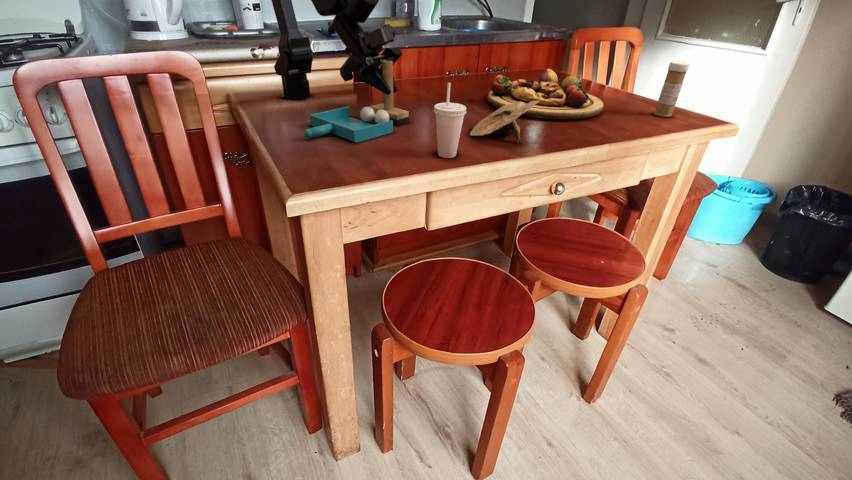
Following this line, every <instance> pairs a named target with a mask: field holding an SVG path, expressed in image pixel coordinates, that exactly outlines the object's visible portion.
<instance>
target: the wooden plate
mask: <svg viewBox="0 0 852 480" xmlns="http://www.w3.org/2000/svg"><path fill="white" fill-rule="evenodd" d="M486 97H487V101H488V103H489V104H490V105H491V106H493V107H494V108H497V110H498V109H499V108H501V107H502V106H504V105H507V104H510V103H516V102H519V101H522V102H524V103H525V104H527V103H529V102H531V101H539V102H538V103H536V104H535V105H534V107H533V108H531V109H530V110H528V111H526V112H525V113H523V114H522V115H521V116H523V117H531V118H537V119H546V120H580V119H587V118H591V117H594V116H598V115H600V113H602V112H603V110H604V107H605V104H604V102H603V101H602V100H601V98H599V97H596V96H594V95H593V94H590V93H588V92H587V91H586V89H585V88H583V83H582V81H581V79H580V78H579V77H578V76H577V75H576V74H574V73H573V74H570V75H569V76H567V77H565V78H564V79H562V81H561V83H560V85H559V78H558V75H557V73H556V72H555V71H554V70H552V69H551V68H547V69H545V70H544V71H543V72H542V74H540V75H539V78H538V81H536V80H528V81H527V80H525V79H515V80H513V81H511V80H510V78H508V77H507V76H505V75H502V74H498V75H496V76H495V77H494V78H493V81H492V83H491V90H490V91H489V92H488V94H487V96H486Z"/></svg>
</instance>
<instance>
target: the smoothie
mask: <svg viewBox="0 0 852 480" xmlns="http://www.w3.org/2000/svg"><path fill="white" fill-rule="evenodd" d="M451 85H452V84H451V82H447V85H446V86H447V88H446V89H447V90H446V102H440V103H439V102H438V103H436V104H434V106H433V112H434V113H435V128H436V144H437V155H438V156H439V157H440V158H443V159H453V158H455V157H456V156H457V153H458V147H459V143H460V139H461V134H462V128H463V123H464V118H465V115H466V114H467V106H466V105H464V104H461V103H457V102H450V98H451Z"/></svg>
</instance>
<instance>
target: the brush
mask: <svg viewBox="0 0 852 480" xmlns="http://www.w3.org/2000/svg"><path fill="white" fill-rule="evenodd" d="M382 64H383V78H384V80H385V81H386V83H387V85H388V86H389V88H390V90H391V94H390V95H387V94H385V93H383V92H382V93H383V95H382V96H383V103H377V104H373V105H370V106H369V107H370V108H372V109H373V110H374V113H375V114H376V112H377V111H379V110H385V111H386V112H387V113H388V114H389V121H390V120H393V126H397V127H398V126H402V125H405V124H407V123H409V122H410V111H409V110H405V109H401V108H398V107H395V105H394V102H395V101H394V100H395V99H394V92H393V77H394V65H393V61H383V62H382Z"/></svg>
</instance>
